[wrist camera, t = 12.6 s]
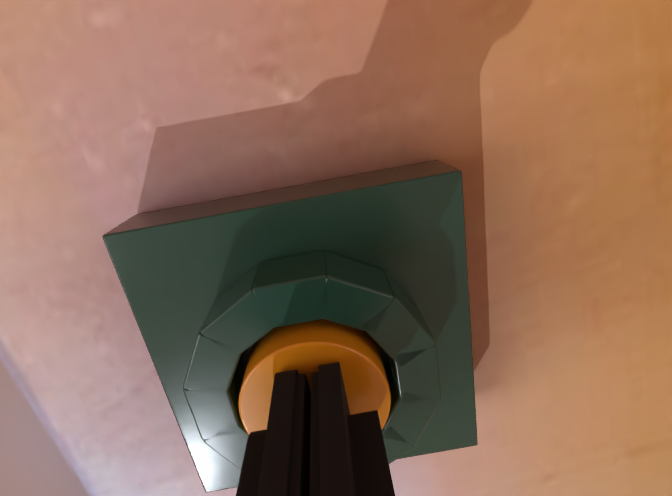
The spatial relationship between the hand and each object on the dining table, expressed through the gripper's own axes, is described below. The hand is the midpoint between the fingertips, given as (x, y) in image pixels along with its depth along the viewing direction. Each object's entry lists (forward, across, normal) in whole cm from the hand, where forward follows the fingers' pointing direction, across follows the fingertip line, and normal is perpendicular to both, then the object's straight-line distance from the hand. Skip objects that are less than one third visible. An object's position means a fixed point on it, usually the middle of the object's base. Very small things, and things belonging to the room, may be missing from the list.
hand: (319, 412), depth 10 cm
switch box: (+5, 0, 0) cm, 5 cm away
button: (+2, 0, 0) cm, 2 cm away
